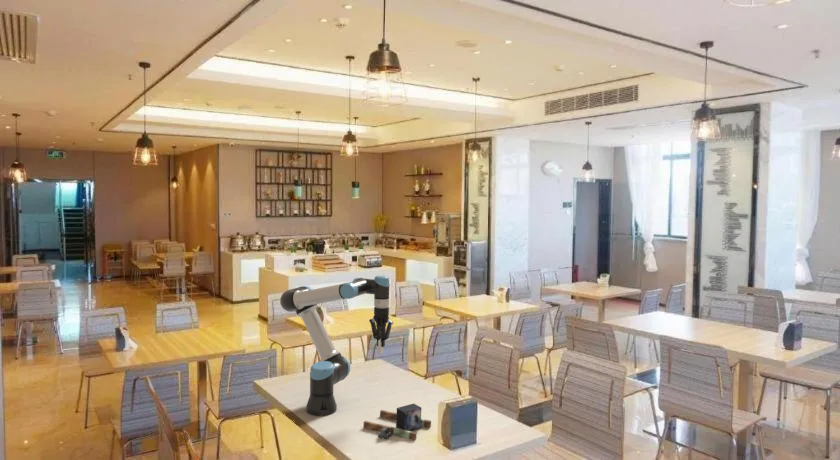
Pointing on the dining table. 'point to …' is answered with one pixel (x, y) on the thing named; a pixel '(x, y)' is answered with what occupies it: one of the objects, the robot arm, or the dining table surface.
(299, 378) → the dining table surface
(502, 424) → the dining table surface
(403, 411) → the small box
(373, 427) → the beam slot
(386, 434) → the fulcrum
